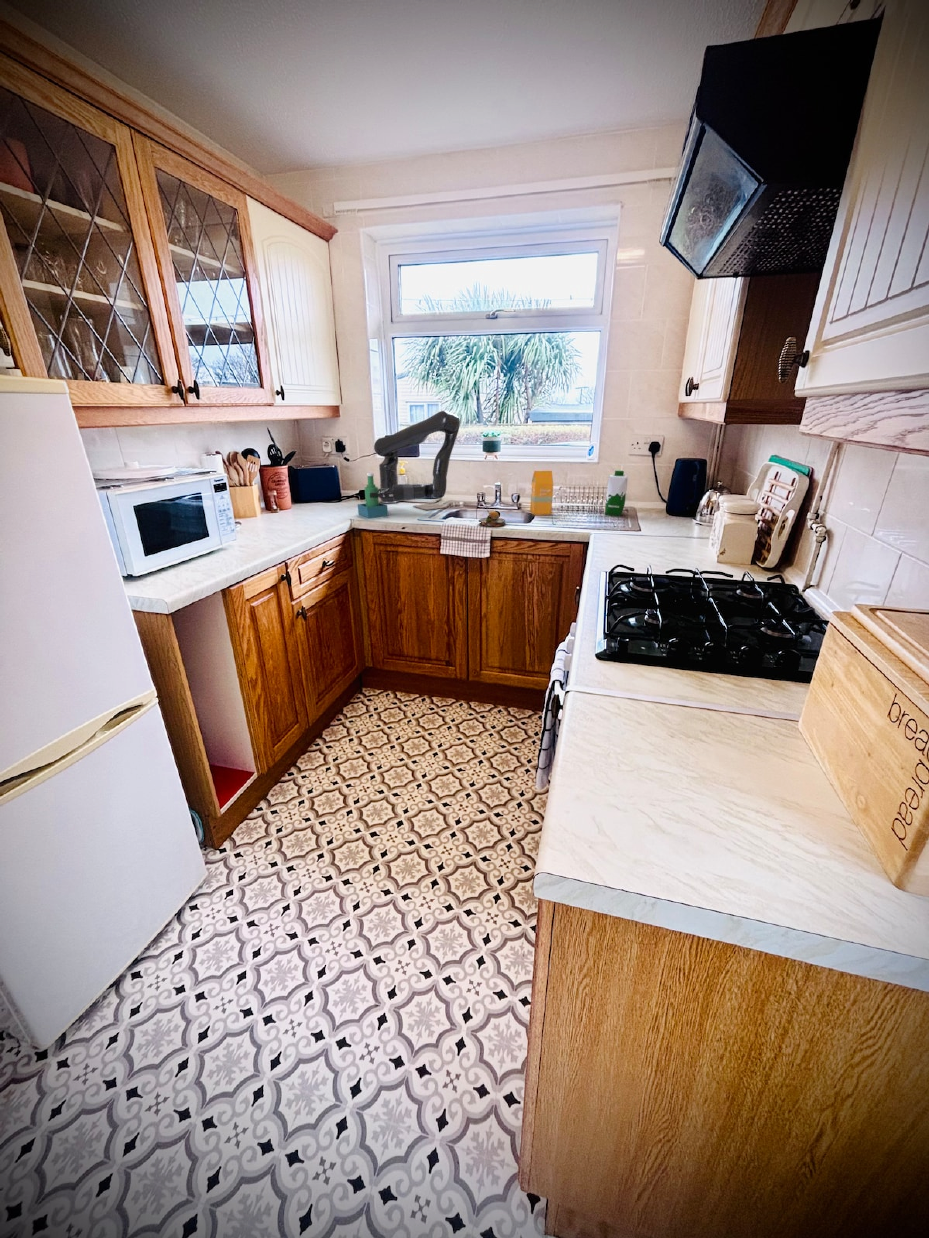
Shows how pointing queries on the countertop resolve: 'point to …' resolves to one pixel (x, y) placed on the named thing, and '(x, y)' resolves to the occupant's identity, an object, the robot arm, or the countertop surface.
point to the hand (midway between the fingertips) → (368, 494)
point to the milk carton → (616, 493)
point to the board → (430, 506)
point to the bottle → (371, 489)
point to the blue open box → (372, 511)
